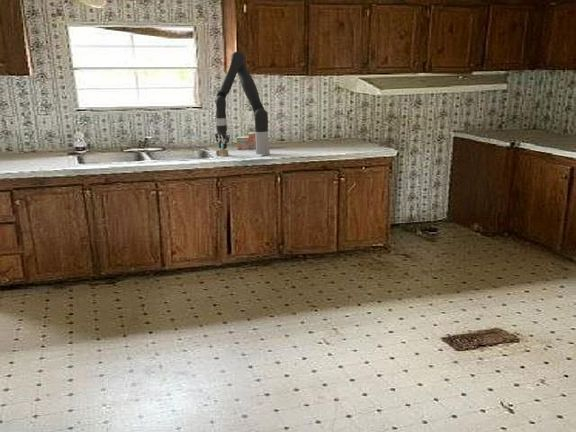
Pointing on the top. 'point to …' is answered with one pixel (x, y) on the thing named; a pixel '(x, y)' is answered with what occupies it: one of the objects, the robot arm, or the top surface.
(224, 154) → the block
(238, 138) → the stack of blocks
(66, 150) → the top surface
